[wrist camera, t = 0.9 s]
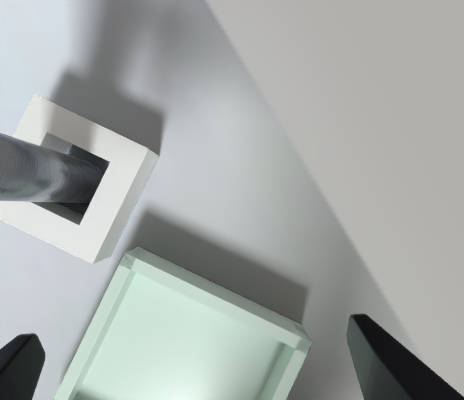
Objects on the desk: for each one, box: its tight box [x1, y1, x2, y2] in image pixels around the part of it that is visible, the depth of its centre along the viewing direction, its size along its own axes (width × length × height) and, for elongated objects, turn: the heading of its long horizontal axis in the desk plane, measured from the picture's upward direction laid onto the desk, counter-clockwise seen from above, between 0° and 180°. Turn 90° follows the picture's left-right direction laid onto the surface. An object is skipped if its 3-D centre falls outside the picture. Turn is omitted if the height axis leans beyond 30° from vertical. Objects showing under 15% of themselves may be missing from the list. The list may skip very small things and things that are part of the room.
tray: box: [53, 247, 312, 400], centre depth 21 cm, size 13×13×3 cm
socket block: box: [0, 94, 159, 264], centre depth 21 cm, size 8×8×3 cm
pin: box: [0, 133, 104, 203], centre depth 16 cm, size 4×4×14 cm
